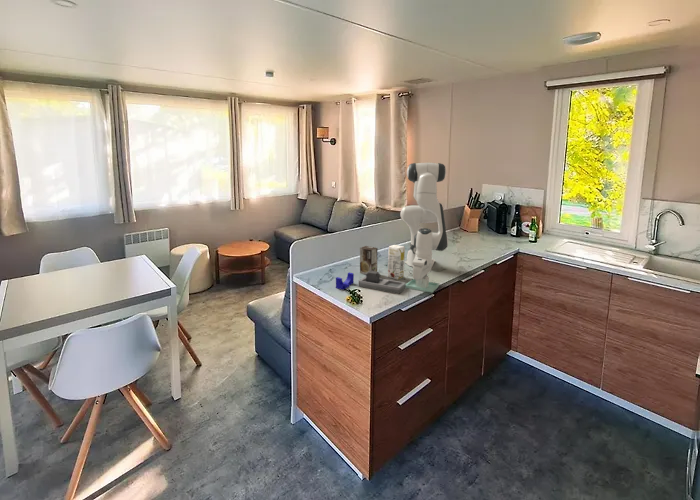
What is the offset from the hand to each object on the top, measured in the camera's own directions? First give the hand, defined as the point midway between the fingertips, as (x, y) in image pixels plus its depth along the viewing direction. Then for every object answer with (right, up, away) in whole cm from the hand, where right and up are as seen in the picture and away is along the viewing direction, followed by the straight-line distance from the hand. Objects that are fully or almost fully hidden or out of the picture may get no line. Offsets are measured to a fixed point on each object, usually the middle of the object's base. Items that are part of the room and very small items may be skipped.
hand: (422, 283), depth 212 cm
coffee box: (-28, +4, +24) cm, 37 cm away
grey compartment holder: (-22, -2, 0) cm, 22 cm away
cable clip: (-42, -2, +2) cm, 42 cm away
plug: (0, -2, 0) cm, 2 cm away
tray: (0, -2, +1) cm, 2 cm away
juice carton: (-13, +2, +16) cm, 21 cm away
